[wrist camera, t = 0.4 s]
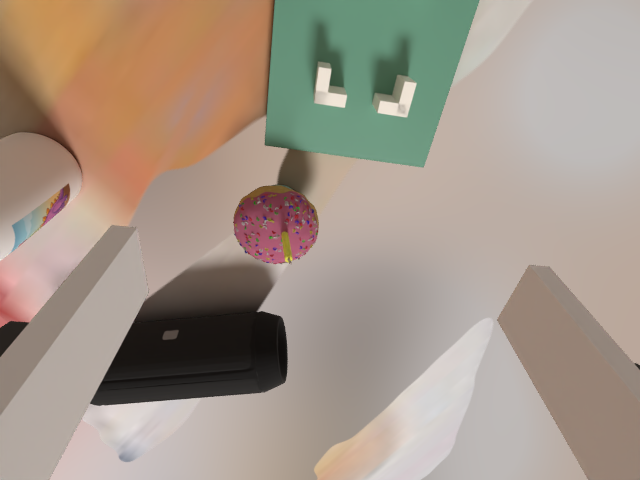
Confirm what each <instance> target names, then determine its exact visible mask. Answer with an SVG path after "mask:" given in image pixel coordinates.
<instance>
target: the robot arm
mask: <svg viewBox="0 0 640 480" xmlns="http://www.w3.org/2000/svg"><path fill="white" fill-rule="evenodd" d="M148 293H149V290H148V284H147V279H146V274H145V268H144V262H143V257H142V251H141V245H140V240H139V234H138V229H137V228H136V227H135V228H134V227H125V226H115V225H112V226H111V227H110V228H109V229H108V230H107V231H106V233H105V234H104V235H103V236H102V237H101V239H100V240H99V241H98V242H97V243H96V244H95V246H94V247H93V248H92V249H91V250H90V252H89V253H88V254H87V255H86V256H85V257H84V259H83V260H82V261H81V262H80V263H79V265H78V266H77V267H76V268H75V269H74V270H73V272H72V273H71V274H70V275H69V276H68V278H67V279H66V280H65V281H64V282H63V283H62V285H61V286H60V287H59V288H58V289H57V291H56V292H55V293H54V294H53V295H52V297H51V298H50V299H49V300H48V301H47V302H46V304H45V305H44V306H43V307H42V308H41V310H40V311H39V312H38V313H37V314H36V315H35V317H34V318H33V319H32V320H31V321H30V323H28V322H14V321H10V322H8V323H7V324H5V325H4V326H2V327H1V328H0V480H49V479H50V477H51V475H52V474H53V472H54V470H55V468H56V466H57V464H58V462H59V460H60V459H61V457H62V455H63V453H64V451H65V449H66V447H67V445H68V443H69V442H70V440H71V438H72V436H73V434H74V432H75V430H76V428H77V426H78V425H79V423H80V421H81V419H82V417H83V415H84V413H85V412H86V410H87V408H88V406H89V404H90V402H91V400H92V398H93V397H94V395H95V393H96V391H97V389H98V387H99V385H100V383H101V382H102V380H103V378H104V376H105V374H106V372H107V370H108V368H109V367H110V365H111V363H112V361H113V359H114V357H115V355H116V353H117V352H118V350H119V348H120V346H121V344H122V342H123V340H124V338H125V336H126V335H127V333H128V331H129V329H130V327H131V325H132V323H133V321H134V320H135V318H136V316H137V314H138V312H139V310H140V308H141V306H142V305H143V303H144V301H145V299H146V297H147V295H148ZM497 321H498V322H499V324H500V326H501V328H502V330H503V331H504V333H505V335H506V336H507V338H508V340H509V342H510V344H511V345H512V347H513V349H514V351H515V352H516V354H517V356H518V358H519V359H520V361H521V363H522V364H523V366H524V368H525V370H526V371H527V373H528V375H529V377H530V379H531V380H532V382H533V384H534V386H535V387H536V389H537V391H538V393H539V394H540V396H541V398H542V400H543V401H544V403H545V405H546V407H547V408H548V410H549V412H550V414H551V415H552V417H553V419H554V420H555V422H556V424H557V426H558V428H559V429H560V431H561V433H562V434H563V436H564V438H565V440H566V442H567V443H568V445H569V447H570V448H571V450H572V452H573V454H574V455H575V457H576V459H577V461H578V462H579V464H580V466H581V468H582V470H583V471H584V473H585V475H586V476H587V478H588V480H640V365H638V364H636V363H633V362H632V361H631V359H630V358H629V357H628V356H627V355H626V354H625V353H624V352H623V350H622V349H621V348H620V347H619V346H618V345H617V343H616V342H615V341H614V340H613V339H612V338H611V337H610V336H609V334H608V333H607V332H606V331H605V330H604V329H603V327H602V326H601V325H600V324H599V323H598V322H597V321H596V319H595V318H594V317H593V316H592V315H591V314H590V313H589V311H588V310H587V309H586V308H585V307H584V306H583V305H582V303H581V302H580V301H579V300H578V299H577V298H576V296H575V295H574V294H573V293H572V292H571V291H570V290H569V288H568V287H567V286H566V285H565V284H564V283H563V282H562V281H561V279H560V278H559V277H558V276H557V275H556V274H555V273H554V271H553V270H552V269H551V268H550V267H546V266H536V265H529V266H528V268H527V269H526V271H525V273H524V274H523V276H522V278H521V280H520V281H519V283H518V285H517V287H516V288H515V290H514V292H513V293H512V295H511V297H510V298H509V300H508V302H507V304H506V305H505V307H504V309H503V311H502V312H501V314H500V315H499V317H498V319H497Z"/></svg>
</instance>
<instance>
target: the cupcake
mask: <svg viewBox="0 0 640 480" xmlns="http://www.w3.org/2000/svg"><path fill="white" fill-rule="evenodd" d="M233 223H234V232H235V234H234V235H235V236H236V238H237V240H238V242H239V243H240V245H241V246H242V247H243V248H244V250H245V253H247V252H248V254H250V255H252V256H253V257H255V258H256V259H258V260H260V261H264V262H267V263H272V264H277V263H280V264H282V263H288V262H289V264H292V263H291V261H292V260H295V259H297V258H298V259H300V257H301V256H303V255H305V254H306V252H307V251H308V250H309V249H310V248H311V247H312V246H313V244H314V243H315V241H316V239H317V234H318V226H319V222H318V216H317V212H316V209H315V207H314V206H313V205H312V204H311V203H310V202H309V201H308V200H307V198H306V197H305V196H304V195H303V194H301V193H299V192H296V191H294V190H293V189H291V188H290V187H287V186H284V185H272V186H263V187H260V188H257V189H256V190H254V191H253V192H251V193H250V194H248V195H247V196H245V197H243V198H242V199H241V201H240V203H239V205H238V207H237V209H236V211H235V214H234V222H233ZM246 251H247V252H246Z"/></svg>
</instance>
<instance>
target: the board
mask: <svg viewBox="0 0 640 480" xmlns="http://www.w3.org/2000/svg"><path fill="white" fill-rule="evenodd" d="M478 3H479V0H275V6H274V20H273V34H272V48H271V62H270V76H269V91H268V105H267V119H266V134H265V145H266V146H274V147H281V148H288V149H295V150H302V151H309V152H316V153H323V154H331V155H338V156H345V157H352V158H359V159H366V160H367V159H368V160H374V161H381V162H388V163H395V164H402V165H410V166H417V167H424V165H425V162H426V159H427V156H428V153H429V150H430V147H431V144H432V141H433V138H434V135H435V132H436V129H437V126H438V123H439V120H440V117H441V114H442V111H443V108H444V105H445V102H446V99H447V96H448V93H449V90H450V87H451V84H452V81H453V78H454V75H455V72H456V69H457V66H458V63H459V60H460V57H461V54H462V51H463V48H464V45H465V42H466V39H467V36H468V33H469V30H470V27H471V24H472V21H473V18H474V15H475V12H476V9H477V6H478Z"/></svg>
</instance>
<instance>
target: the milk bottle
mask: <svg viewBox="0 0 640 480" xmlns="http://www.w3.org/2000/svg"><path fill="white" fill-rule="evenodd" d="M81 187H82V173H81V170H80V167H79V165H78V163H77V161H76V160H75V158H74V157H73V156H72V154H71V153H70V152H69V151H68V150H67V149H66V148H64V147H63V146H62V145H61V144H59V143H58V142H56V141H54V140H53V139H51V138H48V137H46V136H43V135H40V134H36V133H28V132H19V133H14V134H11V135H9V136H6V137H4V138H2V139H0V261H1V260H2V259H3V258H5V257H6V256H7V255H9V254H10V253H11V252H12V251H14V250H15V249H16V248H18V247H19V246H20V245H21V244H22V243H24V242H25V241H26V240H27V239H28V238H29V237H31V236H32V235H33V234H34V233H35V232H37V231H38V230H39V229H40V228H41V227H42V226H44V225H45V224H46V223H47V222H48V221H49V220H50V219H52V218H53V217H54V216H55V215H56V214H57V213H59V212H60V211H61V210H62V209H63V208H64V207H65V206H67V205H68V204H69V203H70V202H71V201H72V200H73V199H74V198H75V197H76V196H77V195H78V194H79V192H80V190H81Z"/></svg>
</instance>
